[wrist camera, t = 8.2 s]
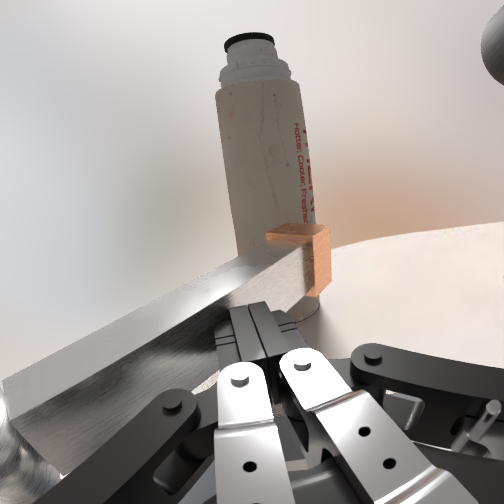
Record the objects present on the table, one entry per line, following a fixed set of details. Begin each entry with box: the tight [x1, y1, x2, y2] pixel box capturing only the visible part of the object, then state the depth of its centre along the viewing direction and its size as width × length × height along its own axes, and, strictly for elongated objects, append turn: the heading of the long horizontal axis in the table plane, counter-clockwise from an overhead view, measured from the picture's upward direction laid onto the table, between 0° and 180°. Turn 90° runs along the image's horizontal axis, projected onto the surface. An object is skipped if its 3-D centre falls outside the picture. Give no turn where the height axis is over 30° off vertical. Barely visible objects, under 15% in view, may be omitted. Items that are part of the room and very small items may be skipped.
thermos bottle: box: [215, 32, 319, 323], centre depth 25 cm, size 8×8×28 cm
